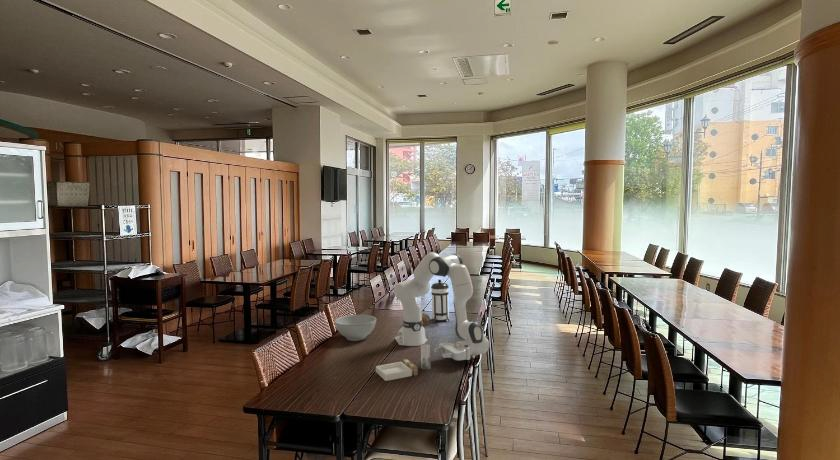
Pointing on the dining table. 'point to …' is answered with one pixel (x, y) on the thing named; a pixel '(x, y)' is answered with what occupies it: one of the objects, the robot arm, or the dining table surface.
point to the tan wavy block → (411, 366)
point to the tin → (425, 319)
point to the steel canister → (425, 356)
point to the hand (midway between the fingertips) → (438, 353)
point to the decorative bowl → (355, 326)
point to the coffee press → (440, 301)
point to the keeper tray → (393, 371)
